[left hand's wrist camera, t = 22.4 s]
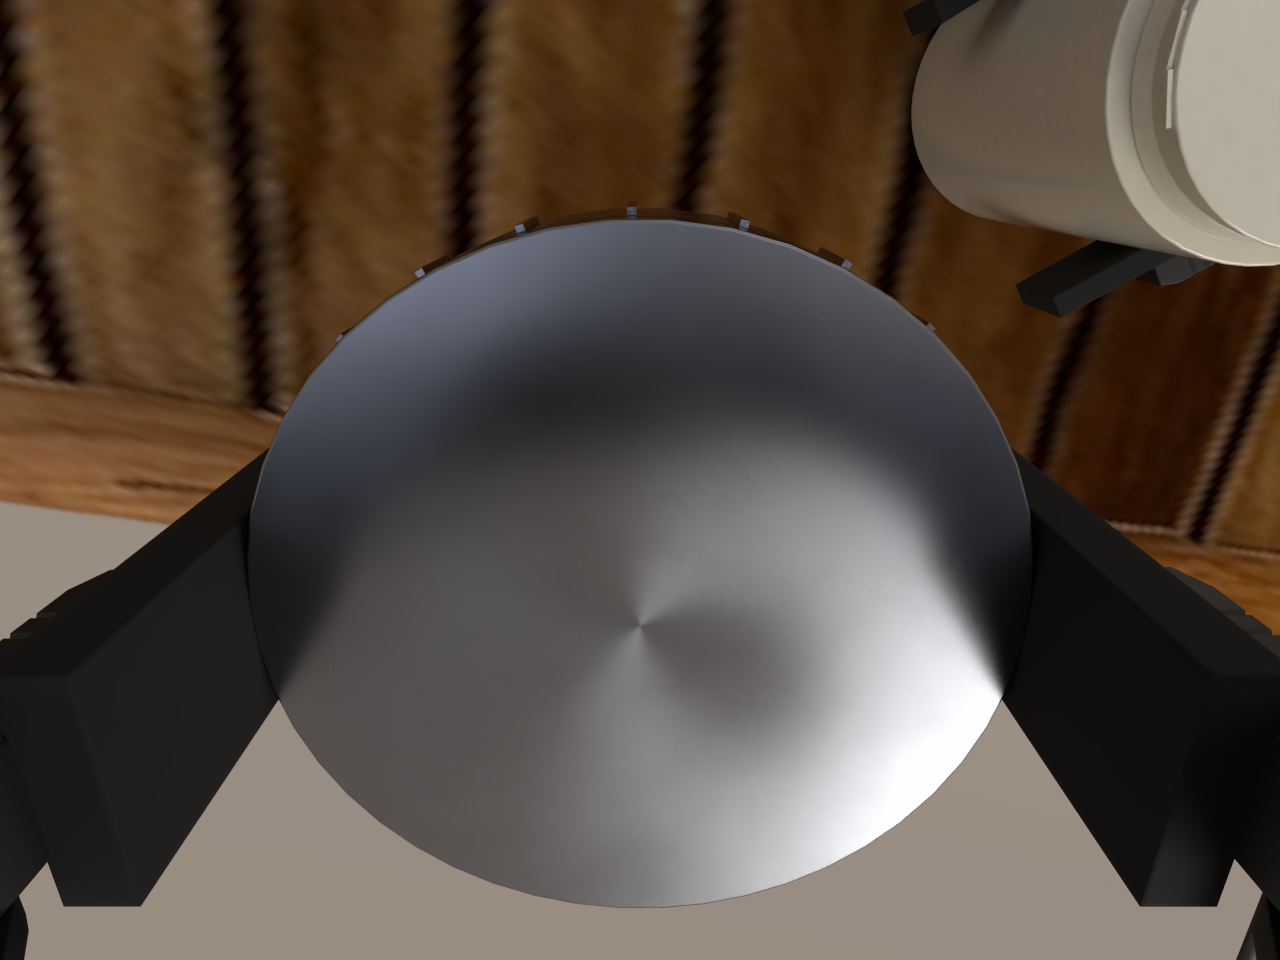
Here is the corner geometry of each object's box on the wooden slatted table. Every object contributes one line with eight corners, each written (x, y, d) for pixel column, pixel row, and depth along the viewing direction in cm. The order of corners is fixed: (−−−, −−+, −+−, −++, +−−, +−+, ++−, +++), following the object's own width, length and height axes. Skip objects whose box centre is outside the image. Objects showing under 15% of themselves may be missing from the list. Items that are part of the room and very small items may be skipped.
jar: (1150, -68, 28) (1675, -297, 14) (1148, 191, 32) (1573, 224, 17) (898, -3, 29) (1151, -156, 15) (922, 244, 32) (1148, 317, 18)
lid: (513, 888, 14) (495, 991, 13) (155, 410, 11) (63, 457, 9) (1059, 684, 13) (1126, 769, 11) (831, 50, 9) (874, 25, 8)
